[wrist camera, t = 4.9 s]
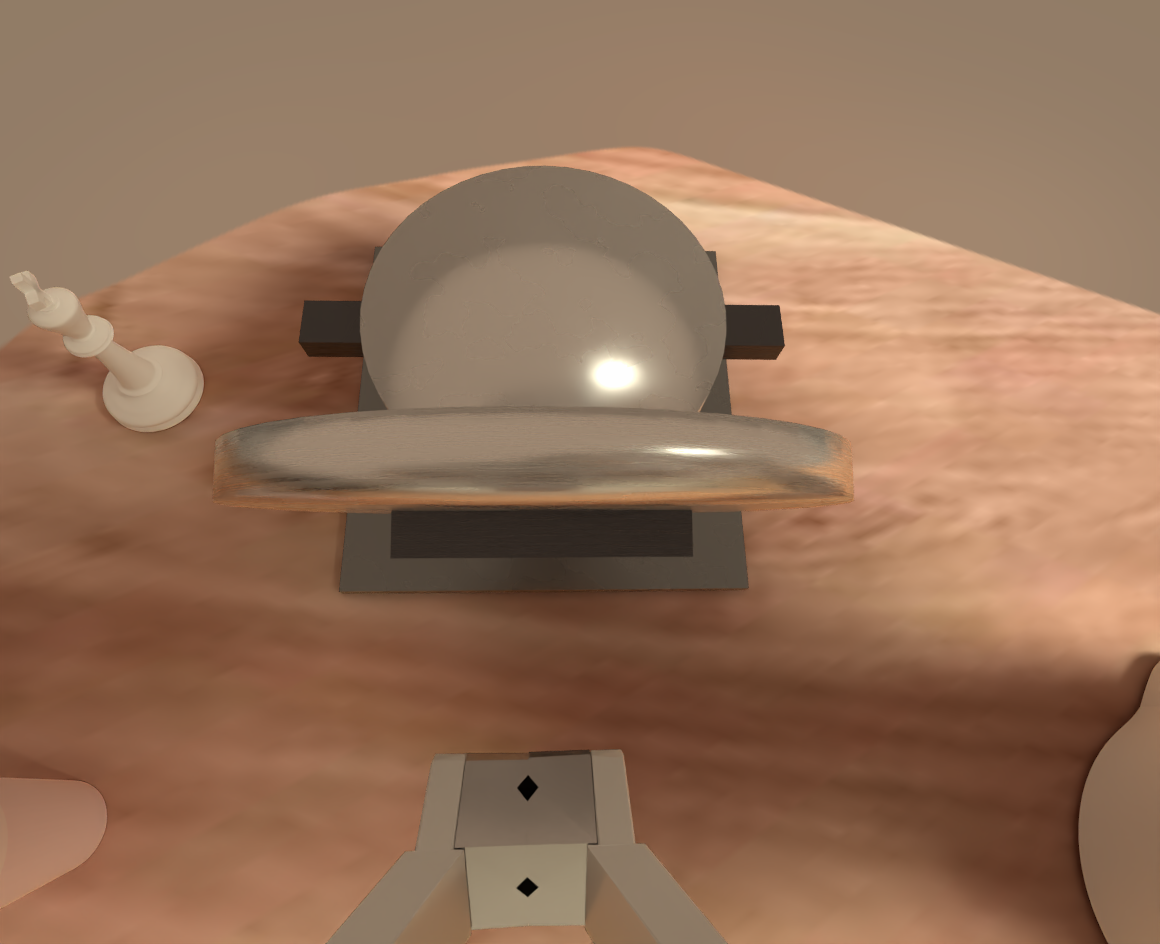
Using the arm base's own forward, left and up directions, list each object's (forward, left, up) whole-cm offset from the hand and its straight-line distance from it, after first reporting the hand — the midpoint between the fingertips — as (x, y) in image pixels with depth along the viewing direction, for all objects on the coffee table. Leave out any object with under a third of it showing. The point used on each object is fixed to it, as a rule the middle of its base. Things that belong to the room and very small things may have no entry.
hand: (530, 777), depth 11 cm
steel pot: (0, -16, -21) cm, 27 cm away
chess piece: (+21, -17, -22) cm, 35 cm away
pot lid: (0, -7, -5) cm, 8 cm away
